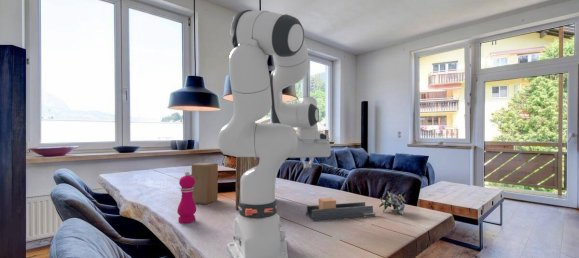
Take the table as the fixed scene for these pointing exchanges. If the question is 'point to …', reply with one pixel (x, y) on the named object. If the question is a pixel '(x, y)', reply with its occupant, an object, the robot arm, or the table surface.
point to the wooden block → (205, 182)
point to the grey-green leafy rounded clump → (394, 203)
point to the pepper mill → (187, 200)
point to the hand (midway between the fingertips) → (307, 168)
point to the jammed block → (327, 203)
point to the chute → (339, 211)
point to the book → (241, 167)
